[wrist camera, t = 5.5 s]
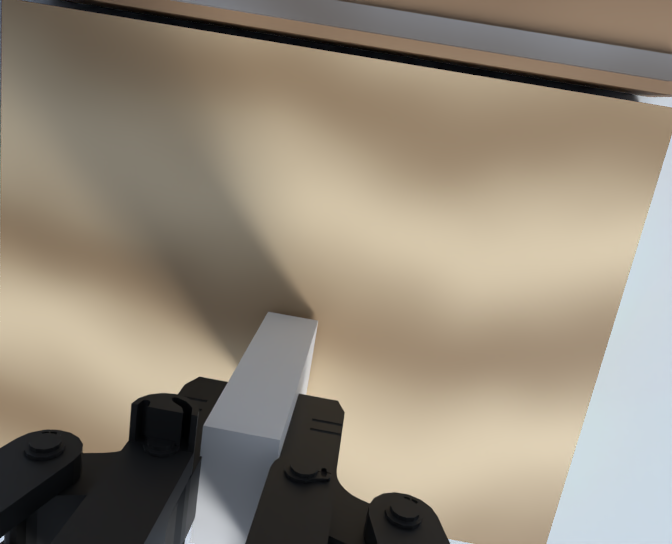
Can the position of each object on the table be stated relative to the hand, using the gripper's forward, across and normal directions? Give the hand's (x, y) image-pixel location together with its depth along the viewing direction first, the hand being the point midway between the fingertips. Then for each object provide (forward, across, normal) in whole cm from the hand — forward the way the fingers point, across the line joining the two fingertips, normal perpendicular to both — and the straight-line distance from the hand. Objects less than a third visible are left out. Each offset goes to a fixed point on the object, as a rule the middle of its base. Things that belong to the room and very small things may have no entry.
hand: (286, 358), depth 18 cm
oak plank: (+2, 0, +2) cm, 3 cm away
